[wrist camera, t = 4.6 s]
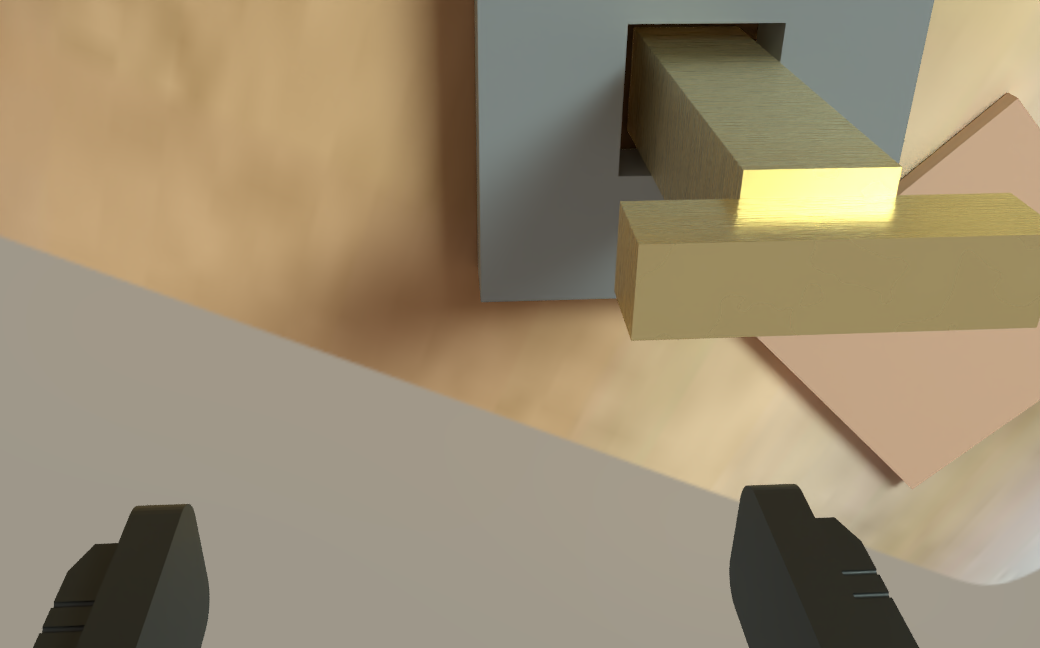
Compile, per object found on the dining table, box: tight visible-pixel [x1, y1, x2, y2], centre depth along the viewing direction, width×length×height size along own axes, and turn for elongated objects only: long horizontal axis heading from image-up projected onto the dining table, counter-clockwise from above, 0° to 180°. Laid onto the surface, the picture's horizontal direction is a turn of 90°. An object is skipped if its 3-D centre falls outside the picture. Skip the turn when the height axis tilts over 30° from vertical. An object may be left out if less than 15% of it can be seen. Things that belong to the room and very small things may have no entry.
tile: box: [757, 93, 1040, 489], centre depth 44 cm, size 14×14×1 cm
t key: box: [614, 26, 1040, 341], centre depth 30 cm, size 10×4×18 cm, turn 89°
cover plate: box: [474, 0, 934, 302], centre depth 36 cm, size 16×16×3 cm
